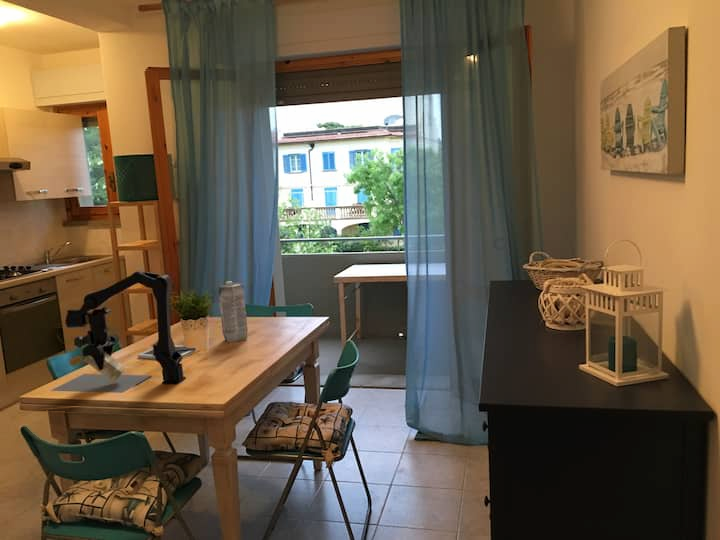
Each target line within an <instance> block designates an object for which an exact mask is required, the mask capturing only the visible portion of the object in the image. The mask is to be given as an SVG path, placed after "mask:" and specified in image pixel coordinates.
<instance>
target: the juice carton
mask: <svg viewBox="0 0 720 540" xmlns="http://www.w3.org/2000/svg"><path fill="white" fill-rule="evenodd" d="M217 290H218V300H219V310H220V312H219V313H220V321H221V330H222V335H223V337H224V340H225V341H226V342H228V343H233V342H234V343H235V342H240V341H245V340H247V339H248V319H247V309H246V302H245V301H246V299H245V292H244V286H243V284H241V283H239V282H234V283H233V281H232V280H230V281H229V280H228V281H226V282H225V284H219V285H218V289H217Z"/></svg>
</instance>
